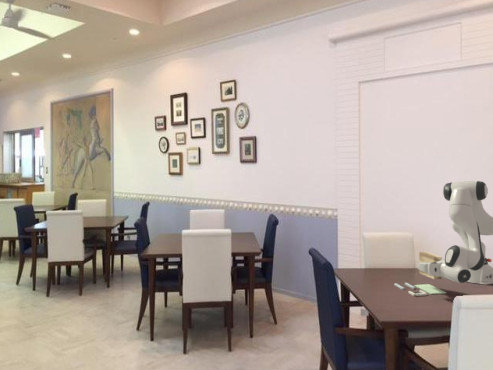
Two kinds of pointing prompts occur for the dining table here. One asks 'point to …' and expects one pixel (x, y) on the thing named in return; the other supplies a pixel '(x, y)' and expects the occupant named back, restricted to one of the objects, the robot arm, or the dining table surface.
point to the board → (429, 258)
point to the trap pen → (418, 293)
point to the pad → (430, 289)
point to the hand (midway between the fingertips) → (429, 262)
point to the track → (403, 287)
